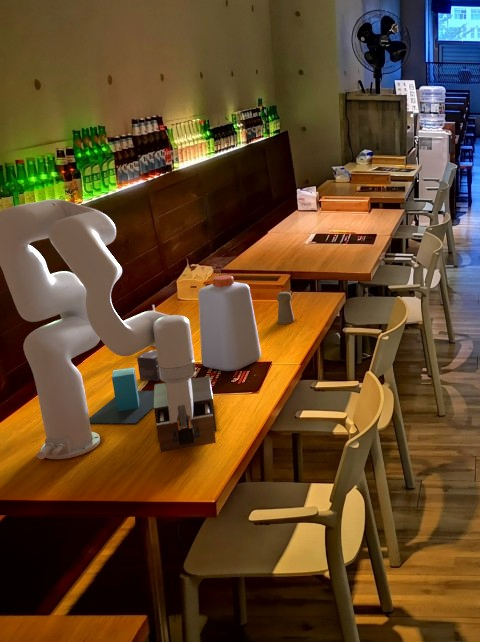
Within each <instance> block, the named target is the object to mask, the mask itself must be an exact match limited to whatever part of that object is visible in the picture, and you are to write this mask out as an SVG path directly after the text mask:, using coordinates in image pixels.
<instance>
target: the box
mask: <svg viewBox="0 0 480 642" xmlns="http://www.w3.org/2000/svg"><path fill="white" fill-rule="evenodd" d="M136 361H137V367H138V374H139V380H142V381H150V382H151V381H152V382H153V381H154V382H158V381H161V379H160V374H159V367H158V360H157V353H156V350H149V351H146V352H144V353H142V354H141V355H138V356H137V357H136Z"/></svg>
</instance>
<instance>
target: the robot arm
mask: <svg viewBox="0 0 480 642" xmlns="http://www.w3.org/2000/svg"><path fill="white" fill-rule="evenodd" d="M116 237H117V227H116V224H115V223H114V222H113V220H112V219H111V218H110V217H109V216H108V215H107V214H105V213H103V211H100V210H98V209H96V208H92V207H89V206H85V205H81V204H78V203H75V202H71V201H68V200H64V199H60V198H51V199H44V200H40V201H35V202H30V203H29V202H28V203H22V204H18V205H14V206H11V207H7V208H4V209H2V210H0V268H1V270H2V272H3V276H4V279H5V281H6V284H7V287H8V289H9V292H10V295H11V298H12V300H13V303H14V305H15V309H16V310H17V313H18V314H19V316H20V317H21V318H22V319H23V320H25V321H27V322H31V323H36V322H41V321H44V320H47V319H49V318H53V317H56V316H58V315H59V316H60V319H57V320H54V321H52V322H50V323H47V324H44V325H42V326H40V327H38V328H36V329H34V330H33V331H31V332H30V333H29V334H28V335H27V336H26V337H25V339H24V342H23V351H24V356H25V358H26V360H27V362H28V364H29V367H30V369H31V372H32V374H33V379H34V383H35V387H36V392H37V393H36V394H37V398H38V402H39V408H40V413H41V418H42V423H43V428H44V434H45V435H44V436H45V439H44V444H42V446H41V447H40V450H39V451H38V452H37V453H36V458H37V459H39V460H43V459H49V460H66V459H72V458H74V457H79V456H82V455H85V454H86V453H89V452H91V451H92V450H94V449H95V448H97V447H98V445H99V444H100V443H101V437H100V434H98V433H97V432H95V431H92V427H91V424H90V420H89V418H90V415H89V408H88V403H87V396H86V391H85V385H84V381H83V376H82V373H81V371H80V370H79V369H78V368H77V367H76V365H74V364H73V362H72V359H73V358H75V357H77V356H79V355H81V354H83V353H86V352H88V351H90V350H91V349H94V348H95V347H96V346H97V345H98V344H99V342H100V341H101V342H102V343H103V344H104V345H105V347H106V348H107V349H108V350H109V351H111V352H112V353H113V354H115V355H117V356H119V357H120V356H121V357H130V356H133V355H135V354H137V353H139V352H141V351H143V350H145V349H147V348H149V347H153V346H152V345H154V344H155V346H156V347H155V351H156V353H157V360H158V367H159V374H160V381H161V382H163V383H166V393H167V401H168V409H169V417H170V423H173V422H176V420H177V422H178V436H179V444H180V445H185V444H191V443H194V433H193V425H191V420H192V419H193V393H192V384H191V379H193V377H195V376H196V375H197V371H196V362H195V354H194V346H193V338H192V330H191V323H190V320H189V319H188V318H187V317H186V316H184V315H181V314H180V315H179V314H173V315H172V314H171V315H170V314H166V313H162V312H160V311H156V310H155V311H153V310H147V311H144V312H141V313H139V314H136V315H134V316H132V317H129V318H127V319H125V320H122V319H121V317H120V316H119V315H118V313H117V312H116V310H115V308H114V306H113V303H112V291H113V288H114V286H115V284H116V282H117V281H119V279H120V278H121V277H122V274H123V268H122V266H121V265H120V264H119V263H118V261H117V260H116V259H115V257H114V256H113V255H112V253H111V252H110V250H109V249H108V248H107V246H108V245H110V244H112V243H113V242H114V241H115V239H116ZM46 239H49V241H50V243H51V245H52V246H53V247H54V249H55V250H56V252H57V253H58V254H59V255H60V257H61V258H62V259H63V261H64V262H65V264H66V265H67V266H68V267H69V269H70V271H66V270H65V271H62V270H61V271H57V272H53V273H50V271H49V269H48V265H47V262H46V260H45V258H44V257H43V256H42V254H41V253H40V252H39V251H38V250H37V249H36V248H35V247H34V246H33V245H31V244H32V243H33V242H37V241H42V240H46ZM71 271H72V272H71Z"/></svg>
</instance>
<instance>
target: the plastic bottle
mask: <svg viewBox="0 0 480 642" xmlns="http://www.w3.org/2000/svg"><path fill="white" fill-rule="evenodd" d="M250 288H251V287H250V286H249V285H248V284H247V283H243V282H237V281H234V276H232V275H230V274H222V275H215V276H214V277H213V278H212V283H211V284H208V285H205V286H203V287H201V288H199V290H198V310H199V311H198V313H199V314H198V315H199V316H198V317H199V334H200V335H199V336H200V358H201V359H200V361H201V364H202V365H203V367H206V368H208V369H214V370H218V371H223V372H236V371H238V370H241V369H243V368H245V367H247V366H249V365H252V364H253V363H255V362H257V361H259V360H260V359H261V357H262V350H261V345H260V339H259V333H258V329H257V328H258V327H257V322H256V317H255V312H254V310H255V309H254V306H253V299H252V294H251V289H250Z"/></svg>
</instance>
